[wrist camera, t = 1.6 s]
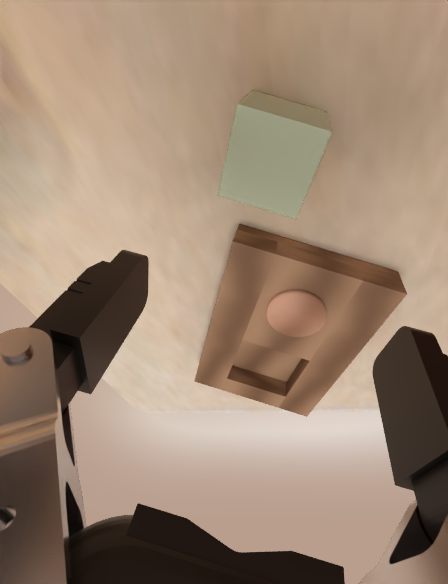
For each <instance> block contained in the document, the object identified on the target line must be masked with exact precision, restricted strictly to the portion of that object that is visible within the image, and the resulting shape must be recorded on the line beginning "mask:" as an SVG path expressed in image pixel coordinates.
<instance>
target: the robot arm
mask: <svg viewBox="0 0 448 584" xmlns="http://www.w3.org/2000/svg"><path fill="white" fill-rule="evenodd" d="M147 296H148V257H147V256H145V255H141V254H138V253H134V252H130V251H126V250H122V251H121V252H120V253H119V254H118V255H117V256H116V257H115V258H114V259H113V260H112V261H111V262H110V263H109V262H105V261H102V262H100V263H98V264H95V265H93V266H91V267H89V268H87V269H86V270H85V271H84V272H83V273H82V274H81V275H80V276H79V277H78V278H77V281H76V282H75V281H74V282H73V283H72V284H71V285H70V287H69V288H68V290H67V291H65V292H64V293H63V294H62V295H61V296H60V297H59V298H58V299H57V300H56V301H55V302H54V303H53V304H52V305H51V306H50V307H49V308H48V309H47V310H46V311H45V312H44V313H43V314H42V315H41V316H40V317H39V318H38V319H37V320H36V321H35V322H34V323H33V324H32V325H31V326H30V327H27V328H16V329H12V330H9V331H6V332H3V333H1V334H0V584H345V583H344V568H343V567H342V566H338V565H335V564H332V563H329V562H325V561H322V560H319V559H316V558H313V557H309V556H306V555H303V554H300V553H296V552H293V551H278V552H249V553H248V552H247V553H241V552H236V551H233V550H232V549H230V548H228V547H227V546H226V545H224V544H223V543H221V542H220V541H218V540H217V539H216V538H214V537H213V536H211V535H210V534H209V533H207V532H206V531H204V530H203V529H201V528H200V527H198V526H197V525H195V524H194V523H193V522H191V521H190V520H188V519H187V518H184V517H180V516H177V515H173V514H171V513H167V512H164V511H161V510H158V509H154V508H151V507H148V506H145V505H141V504H137V507H136V510H135V513H134V515H123V516H117V517H112V518H108V519H105V520H102V521H99V522H96V523H94V524H92V525H90V526H88V527H86V520H85V512H84V504H83V496H82V491H81V486H80V480H79V475H78V469H77V461H76V452H75V444H74V435H73V426H72V418H71V408H70V401H71V400H72V398H73V397H74V395H75V394H76V392H77V391H82V392H85V393H89V394H91V393H92V392H93V390H94V388H95V387H96V385H97V384H98V382H99V380H100V379H101V377H102V376H103V374H104V372H105V371H106V369H107V368H108V366H109V364H110V363H111V361H112V359H113V358H114V356H115V355H116V353H117V351H118V350H119V348H120V347H121V345H122V343H123V342H124V340H125V339H126V337H127V335H128V334H129V332H130V330H131V329H132V327H133V326H134V324H135V322H136V321H137V319H138V318H139V316H140V314H141V313H142V311H143V309H144V307H145V304H146V301H147ZM373 379H374V384H375V388H376V393H377V398H378V403H379V408H380V413H381V418H382V422H383V428H384V433H385V437H386V442H387V447H388V452H389V457H390V462H391V467H392V472H393V476H394V482H395V485H396V486H400V487H403V488H407V489H410V490H413V491H414V492H415V496H416V500H415V501H413V502H412V503H411V504H410V505H409V507H408V509H407V511H406V512H405V514H404V516H403V518H402V520H401V521H400V523H399V525H398V527H397V529H396V531H395V533H394V534H393V536H392V538H391V540H390V542H389V543H388V545H387V547H386V549H385V551H384V553H383V555H382V557H381V558H380V560H379V562H378V563H377V564H376V566H375V567H374V568H373V569H372V570H371V571H370V572H368V573H367V574H366V575H365V576H364V577H363V578H362V579H361V581H360V582H359V583H358V584H448V356H447V355H445V354H443V353H442V351H441V348H440V346H439V344H438V342H437V339H436V337H435V336H434V335H433V334H432V333H430V332H426V331H422V330H418V329H415V328H411V327H407V326H403V327H401V328H400V329H399V330H398V331H397V332H396V333H395V335H394V336H393V337H392V338H391V340H390V341H389V342H388V344H387V345H386V346H385V347H384V349H383V350H382V351H381V352H380V354H379V355H378V356H377V358H376V360H375V362H374V366H373Z"/></svg>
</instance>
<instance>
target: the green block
mask: <svg viewBox="0 0 448 584" xmlns="http://www.w3.org/2000/svg"><path fill="white" fill-rule="evenodd" d="M331 133H332V129H331V126H330V122H329V119H328V115H327V112H326V111H323V110H319V109H316V108H312V107H309V106H306V105H302V104H299V103H295V102H292V101H289V100H285V99H282V98H278V97H275V96H272V95H268V94H265V93H261V92H258V91H254V90H252V91H251V92H250V93H249V94H248V95H247V96H246V97H244V98H243V99H242V100H241V101H240V102H239V103H238V104H237V107H236V112H235V117H234V122H233V126H232V131H231V136H230V140H229V145H228V150H227V155H226V159H225V164H224V169H223V173H222V178H221V183H220V188H219V192H218V196H220V197H224V198H227V199H230V200H233V201H237V202H240V203H243V204H247V205H250V206H253V207H257V208H260V209H263V210H267V211H270V212H273V213H277V214H280V215H283V216H287V217H290V218H293V219H297V216H298V214H299V211H300V209H301V206H302V204H303V201H304V199H305V197H306V194H307V192H308V189H309V187H310V184H311V182H312V180H313V177H314V175H315V172H316V170H317V167H318V165H319V163H320V160H321V158H322V155H323V153H324V150H325V148H326V145H327V143H328V141H329V138H330V136H331Z"/></svg>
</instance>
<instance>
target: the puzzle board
mask: <svg viewBox="0 0 448 584" xmlns="http://www.w3.org/2000/svg"><path fill="white" fill-rule="evenodd" d="M406 295H407V293H406V290H405V288H404V285H403V283H402V280H401V278H400V275H399V273H398V272H397V271H393V270H390V269H387V268H383V267H380V266H377V265H373V264H370V263H367V262H363V261H360V260H357V259H353V258H350V257H347V256H344V255H340V254H337V253H334V252H330V251H327V250H324V249H320V248H317V247H314V246H310V245H307V244H304V243H301V242H297V241H294V240H291V239H287V238H284V237H281V236H277V235H274V234H271V233H267V232H264V231H261V230H258V229H254V228H251V227H248V226H244V225H241V224H239V226H238V229H237V232H236V234H235V237H234V240H233V243H232V246H231V250H230V254H229V257H228V261H227V265H226V268H225V272H224V275H223V279H222V283H221V286H220V290H219V294H218V297H217V301H216V305H215V308H214V312H213V316H212V319H211V323H210V327H209V330H208V334H207V337H206V341H205V345H204V348H203V352H202V356H201V359H200V363H199V367H198V370H197V374H196V378H195V382H198V383H202V384H205V385H208V386H211V387H214V388H218V389H221V390H224V391H227V392H230V393H234V394H237V395H240V396H243V397H246V398H249V399H253V400H256V401H259V402H262V403H265V404H269V405H272V406H275V407H278V408H281V409H285V410H288V411H291V412H294V413H297V414H301V415H304V416H308V414H309V413H310V412H311V411H312V410H313V408H314V407H315V406H316V405H317V403H318V402H319V401H320V400H321V399H322V397H323V396H324V395H325V394H326V392H327V391H328V390H329V389H330V388H331V386H332V385H333V384H334V383H335V381H336V380H337V379H338V378H339V377H340V375H341V374H342V373H343V372H344V370H345V369H346V368H347V367H348V366H349V364H350V363H351V362H352V361H353V359H354V358H355V357H356V356H357V355H358V353H359V352H360V351H361V350H362V348H363V347H364V346H365V345H366V344H367V342H368V341H369V340H370V339H371V337H372V336H373V335H374V334H375V333H376V331H377V330H378V329H379V328H380V327H381V325H382V324H383V323H384V322H385V320H386V319H387V318H388V317H389V316H390V314H391V313H392V312H393V311H394V309H395V308H396V307H397V306H398V305H399V303H400V302H401V301H402V300H403V298H404V297H405V296H406Z"/></svg>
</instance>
